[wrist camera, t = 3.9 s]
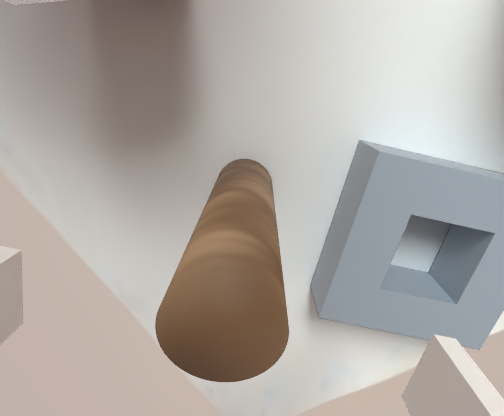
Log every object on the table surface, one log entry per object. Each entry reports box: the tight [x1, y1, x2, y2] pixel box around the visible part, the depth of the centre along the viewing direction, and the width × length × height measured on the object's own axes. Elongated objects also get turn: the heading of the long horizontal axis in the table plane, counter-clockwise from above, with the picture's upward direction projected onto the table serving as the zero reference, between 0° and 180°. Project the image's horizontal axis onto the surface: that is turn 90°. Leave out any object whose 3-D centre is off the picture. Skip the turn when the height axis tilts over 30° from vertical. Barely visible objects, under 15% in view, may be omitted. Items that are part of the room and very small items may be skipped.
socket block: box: [311, 140, 504, 350], centre depth 23 cm, size 12×12×4 cm
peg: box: [155, 159, 289, 382], centre depth 17 cm, size 4×4×15 cm
